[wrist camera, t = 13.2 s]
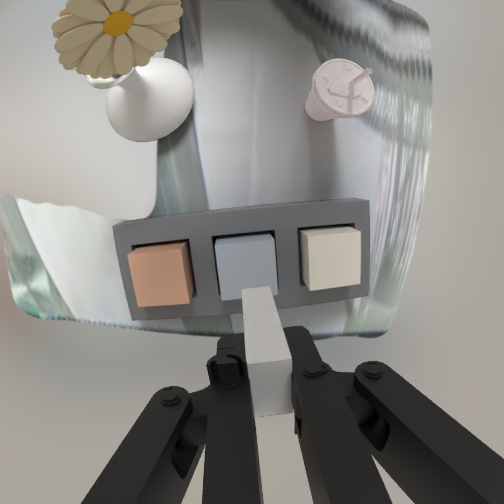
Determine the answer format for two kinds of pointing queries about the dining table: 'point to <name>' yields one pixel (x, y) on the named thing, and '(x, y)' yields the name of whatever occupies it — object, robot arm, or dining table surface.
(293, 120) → the dining table surface
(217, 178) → the dining table surface
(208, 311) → the console
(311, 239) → the key cream
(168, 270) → the key terracotta
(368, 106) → the smoothie
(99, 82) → the flower in vase
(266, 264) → the key slate
